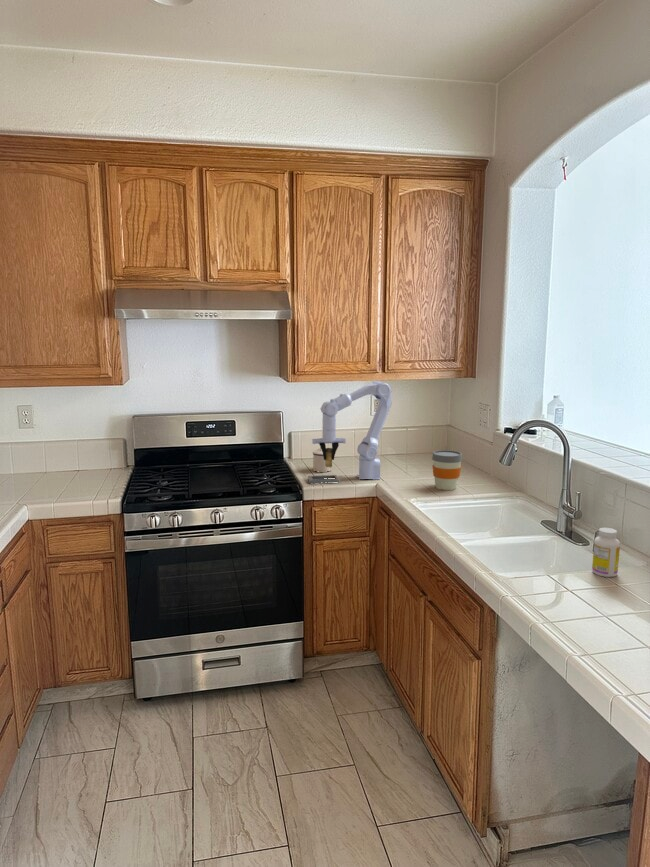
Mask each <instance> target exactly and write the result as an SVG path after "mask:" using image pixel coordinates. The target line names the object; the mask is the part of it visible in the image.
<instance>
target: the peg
mask: <svg viewBox="0 0 650 867" xmlns="http://www.w3.org/2000/svg"><path fill="white" fill-rule="evenodd" d="M325 466H326V467H331V468H332V467H333V460H332V447H326V460H325Z"/></svg>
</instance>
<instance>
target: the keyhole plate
mask: <svg viewBox="0 0 650 867" xmlns="http://www.w3.org/2000/svg"><path fill="white" fill-rule="evenodd" d="M324 478H327V479H324ZM328 478H335V479H328ZM308 480H309V481H308ZM307 481H308V484H309V483H321V482H323V483H325V482H327V484H329V483H328V482H339V483H340V480H339V477H338V476H337V475H336V474H334V475H333V474H332V475H331V474H330V475H328V474H327V475H326V474H325V475H324V474H323V475H307Z"/></svg>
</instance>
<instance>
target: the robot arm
mask: <svg viewBox="0 0 650 867" xmlns="http://www.w3.org/2000/svg"><path fill="white" fill-rule="evenodd" d="M392 392H393V390H392V388H391V386H390V384H388V383H387V382H382V381H378V380H374V381H371V382H368V383H366V385H364V386H362V387H360V388H358V389H356V390H354V391H353V392H351V393H349V394H347V393H340V394H339V396H337V397H336V398H331V399H330V401H324V402H323V403H322V404H321V407H320V412H321V413H322V426H321V427H322V429H321V430H322V435H321V436H322V437H321V438H312V439H311V443H312V445H316V444H317V445H319V447H321V449H322V452H323V457H324V460H326V448H327V445H326V444H331V448H332V461H334V460H335V456H336V453H337V450H338V448H339V446H340V444H346V441H347V440H346V438H344V437H342V438H341V437H336V426H337V425H336V424H337V422H336V420H337V419H336V415H337V413H338V412H340V411H342V410H343V409H346V408H347V407H350V406H352V405H351V404H352V402H354V401H356V400H359V399H361V398H363V397H365V396H368V395H370V396H373V397H375V399H376V401H377V403H378V405H377V408H376V411H375V413H374V416H373V418H372V421H371V423H370V425H369V429H368V431H367V433H366V436H365V437H364V438H362V440H361V442H360V443H359V444H358V446H357V453H358V454H359V458H358V459H359V461H358V464H359V465H358V474H357V475H358V476H357V478H358V477H359V478H358V479H359V480H360V479H373V480H381V461H380V458H377V456H378V451H379V450H378V449H379V441H378V440H379V437H380V436H381V435H380V434H381V433H382V430H383V427H384V425H385V422H386V420H387V417H388V414H389V412H390V408H391V407H392Z"/></svg>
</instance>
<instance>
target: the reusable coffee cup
mask: <svg viewBox="0 0 650 867" xmlns="http://www.w3.org/2000/svg"><path fill="white" fill-rule="evenodd" d="M431 460H432V463H433V464H432V474H433V477H434V485H435V488H436V489H438V490H441V489H443V490H444V491H452V490H453V489H454V490H456V489H457V486H458V480H459V478H460V476H461V469H462V465H461V464H462V461H463V453H462V452H460V451H456V450H448V449H446V450H445V449H443V450H442V449H441V450H440V449H439V450H434V451H432V458H431ZM443 490H442V491H443Z"/></svg>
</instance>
